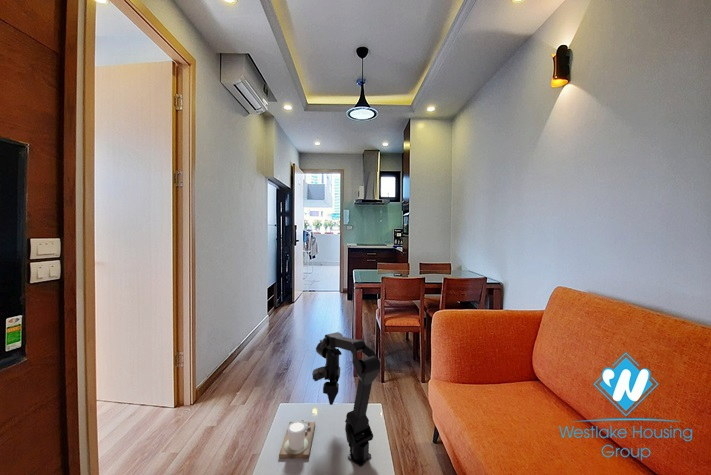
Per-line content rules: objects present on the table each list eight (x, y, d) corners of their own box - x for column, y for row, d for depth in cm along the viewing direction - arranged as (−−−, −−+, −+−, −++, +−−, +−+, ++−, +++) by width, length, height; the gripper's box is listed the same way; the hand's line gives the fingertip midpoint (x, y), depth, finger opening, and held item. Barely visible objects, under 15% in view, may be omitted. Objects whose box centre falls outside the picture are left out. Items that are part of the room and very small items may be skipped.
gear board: (315, 425, 123) (315, 417, 123) (308, 458, 105) (308, 448, 105) (289, 425, 123) (289, 416, 123) (278, 458, 105) (279, 448, 105)
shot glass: (307, 439, 113) (307, 421, 113) (302, 452, 106) (302, 433, 106) (290, 437, 114) (291, 419, 113) (284, 450, 107) (284, 431, 107)
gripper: (316, 353, 132) (316, 386, 133) (310, 372, 114) (310, 411, 114) (340, 353, 132) (340, 386, 133) (338, 373, 114) (337, 411, 114)
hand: (331, 398), depth 123 cm, fingers open, 9 cm apart
